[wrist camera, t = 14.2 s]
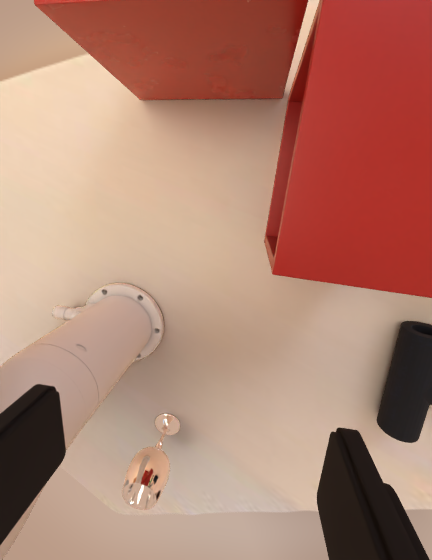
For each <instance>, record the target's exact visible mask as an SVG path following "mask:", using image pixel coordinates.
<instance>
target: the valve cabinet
mask: <svg viewBox="0 0 432 560" xmlns="http://www.w3.org/2000/svg"><path fill="white" fill-rule="evenodd" d="M264 243H265V246H266V250H267V254H268V258H269V262H270V266H271V270H272V274H273V275H279V276H286V277H293V278H300V279H307V280H313V281H320V282H327V283H334V284H341V285H347V286H354V287H361V288H368V289H375V290H381V291H388V292H395V293H402V294H409V295H415V296H422V297H429V298H432V0H320V1H319V4H318V7H317V10H316V13H315V17H314V20H313V23H312V26H311V29H310V32H309V35H308V38H307V41H306V44H305V47H304V51H303V54H302V57H301V60H300V63H299V66H298V69H297V72H296V75H295V78H294V82H293V85H292V88H291V91H290V94H289V98H288V104H287V110H286V116H285V122H284V128H283V134H282V140H281V146H280V152H279V158H278V164H277V169H276V175H275V181H274V187H273V193H272V199H271V205H270V211H269V217H268V223H267V229H266V234H265V240H264Z"/></svg>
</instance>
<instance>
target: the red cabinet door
mask: <svg viewBox="0 0 432 560" xmlns="http://www.w3.org/2000/svg"><path fill="white" fill-rule="evenodd" d="M307 3H308V0H34V4H35V5H36V6H37V7H38V8H39V9H40V10H41V11H42V12H44V13H45V14H46V15H47V16H48V17H49V18H50V19H51V20H52V21H53V22H55V23H56V24H57V25H58V26H59V27H60V28H61V29H62V30H63V31H65V32H66V33H67V34H68V35H69V36H70V37H71V38H72V39H73V40H75V41H76V42H77V43H78V44H79V45H80V46H81V47H82V48H83V49H85V50H86V51H87V52H88V53H89V54H90V55H91V56H92V57H93V58H94V59H96V60H97V61H98V62H99V63H100V64H101V65H102V66H103V67H104V68H106V69H107V70H108V71H109V72H110V73H111V74H112V75H113V76H114V77H116V78H117V79H118V80H119V81H120V82H121V83H122V84H123V85H124V86H126V87H127V88H128V89H129V90H130V91H131V92H132V93H133V94H134V95H136V96H137V97H138V98H139V99H140V100H164V99H272V98H282V97H283V93H284V89H285V86H286V82H287V78H288V74H289V71H290V67H291V63H292V59H293V56H294V52H295V48H296V44H297V41H298V37H299V33H300V29H301V26H302V22H303V18H304V14H305V11H306V7H307Z"/></svg>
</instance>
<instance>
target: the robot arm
mask: <svg viewBox="0 0 432 560" xmlns="http://www.w3.org/2000/svg"><path fill="white" fill-rule="evenodd" d="M142 296H143V297H142ZM52 316H53V317H54V318H58V319H64V320H69V321H67V322H65V323H64V324H62V325H61V326H59V327H58V328H56V329H54V330H53V331H51V332H50V333H48V334H47V335H45V336H43V337H42V338H40V339H39V340H37V341H36V342H34V343H32V344H31V345H29V346H28V347H26V348H24V349H23V350H21V351H20V352H18V353H17V354H15V355H14V356H12V357H11V358H10V359H8V360H7V361H6V362H5V363H4V364H3V365H2V366H1V367H0V560H3V558H4V557H5V555H6V554H7V552H8V551H9V549H10V548H11V546H12V545H13V543H14V542H15V540H16V538H17V536H18V535H19V533H20V531H21V529H22V528H23V526H24V524H25V522H26V520H27V518H28V517H29V515H30V513H31V511H32V509H33V507H34V505H35V503H36V501H37V499H38V497H39V496H40V494H41V492H42V490H43V488H44V486H45V484H46V483H47V481H48V480H49V479H50V477H51V476H52V475H53V473H54V472H55V471H56V469H57V468H58V467H59V465H60V464H61V462H62V461H63V459H64V457H65V453H66V450H67V449H68V447H69V446H70V444H71V443H72V442H73V440H74V439H75V437H76V436H77V435H78V433H79V432H80V431H81V429H82V428H83V427H84V425H85V424H86V423H87V421H88V420H89V419H90V417H91V416H92V415H93V413H94V412H95V411H96V409H97V408H98V407H99V406H100V404H101V403H102V402H103V400H104V399H105V398H106V396H107V395H108V394H109V392H110V391H111V390H112V388H113V387H114V386H115V385H116V383H117V382H118V381H119V379H120V378H121V377H122V375H123V374H124V373H125V371H126V370H127V369H128V368H129V366H130V365H131V364H132V362H133V361H135V360H139V359H143V358H145V357H147V356H148V355H150V354H151V353H152V352H153V351H154V350H155V349H156V347H157V346H158V345H159V343H160V341H161V339H162V336H163V331H164V321H163V317H162V313H161V311H160V309H159V307H158V305H157V304H156V302H155V301H154V300H153V298H152V297H151V296H149V295H148V294H147V293H146V292H145V291H143V290H142V289H140V288H138V287H136V286H133V285H130V284H126V283H113V284H108V285H105V286H103V287H101V288H99V289H98V290H96V291H95V292H94V293H92V295H91V296H90V297H89V298H88V300H87V302H86V304H85V306H84V307H76V308H70V307H66V306H60V305H57V306H55V307H54V308H53V311H52ZM317 505H318V510H319V515H320V520H321V524H322V529H323V533H324V538H325V543H326V547H327V552H328V556H329V560H429V558H428V556H427V554H426V552H425V550H424V548H423V546H422V544H421V542H420V540H419V538H418V536H417V534H416V532H415V530H414V528H413V526H412V524H411V522H410V520H409V518H408V516H407V514H406V512H405V510H404V508H403V506H402V504H401V502H400V500H399V498H398V496H397V494H396V492H395V491H394V489H393V488H392V487H391V486H390V485H389V484H386V483H383V481H382V479H381V477H380V475H379V473H378V471H377V469H376V466H375V464H374V462H373V460H372V458H371V456H370V454H369V452H368V449H367V447H366V445H365V443H364V441H363V439H362V437H361V435H360V433H359V432H358V431H357V430H352V429H345V428H337V430H336V432H331V434H330V438H329V442H328V447H327V451H326V456H325V460H324V465H323V469H322V474H321V478H320V483H319V487H318V492H317Z"/></svg>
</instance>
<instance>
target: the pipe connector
mask: <svg viewBox="0 0 432 560" xmlns="http://www.w3.org/2000/svg"><path fill="white" fill-rule="evenodd" d="M429 405H432V325H429V324H425V323H421V322H413V321H407V322H403V323H402V324H401V328H400V332H399V336H398V340H397V344H396V347H395V351H394V355H393V359H392V363H391V367H390V370H389V374H388V378H387V382H386V386H385V390H384V394H383V397H382V401H381V405H380V409H379V413H378V417H377V423H378V425H379V427H380V428H381V429H382V430H383V431H384V432H385V433H386V434H388V435H389V436H391V437H393V438H395V439H397V440H399V441H402V442H408V443H413V442H416V441H417V440H418V439H419V436H420V433H421V430H422V427H423V424H424V421H425V418H426V415H427V411H428V408H429Z"/></svg>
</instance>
